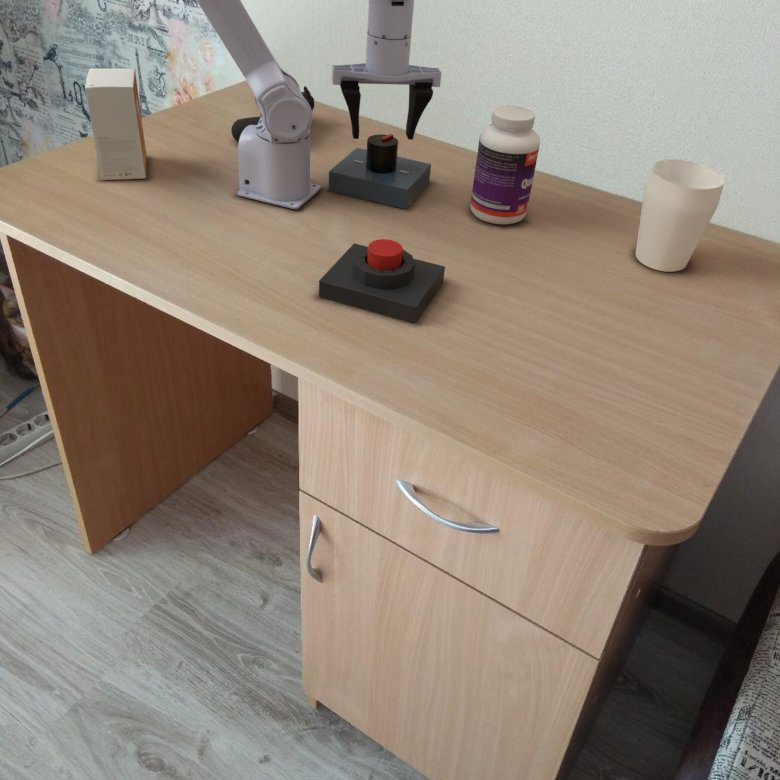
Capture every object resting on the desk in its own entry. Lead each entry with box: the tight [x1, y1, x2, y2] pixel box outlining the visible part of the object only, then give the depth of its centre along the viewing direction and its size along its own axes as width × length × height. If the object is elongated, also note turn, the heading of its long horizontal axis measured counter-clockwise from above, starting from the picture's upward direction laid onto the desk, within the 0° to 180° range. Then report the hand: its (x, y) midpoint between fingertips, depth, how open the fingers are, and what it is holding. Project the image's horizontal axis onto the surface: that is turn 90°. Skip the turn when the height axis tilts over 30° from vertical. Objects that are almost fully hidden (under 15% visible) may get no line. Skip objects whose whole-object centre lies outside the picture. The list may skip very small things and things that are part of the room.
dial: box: [366, 133, 399, 173], centre depth 111 cm, size 4×4×4 cm
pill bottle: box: [469, 105, 541, 225], centre depth 105 cm, size 8×8×14 cm
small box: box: [84, 67, 147, 181], centre depth 109 cm, size 8×6×13 cm
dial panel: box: [328, 147, 432, 210], centre depth 113 cm, size 12×10×3 cm
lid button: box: [367, 238, 404, 270], centre depth 90 cm, size 4×4×2 cm
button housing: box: [318, 242, 446, 324], centre depth 91 cm, size 12×10×4 cm
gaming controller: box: [230, 85, 315, 143], centre depth 126 cm, size 17×6×10 cm
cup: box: [635, 158, 726, 273], centre depth 99 cm, size 9×9×12 cm
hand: (382, 136), depth 109 cm, fingers open, 7 cm apart
